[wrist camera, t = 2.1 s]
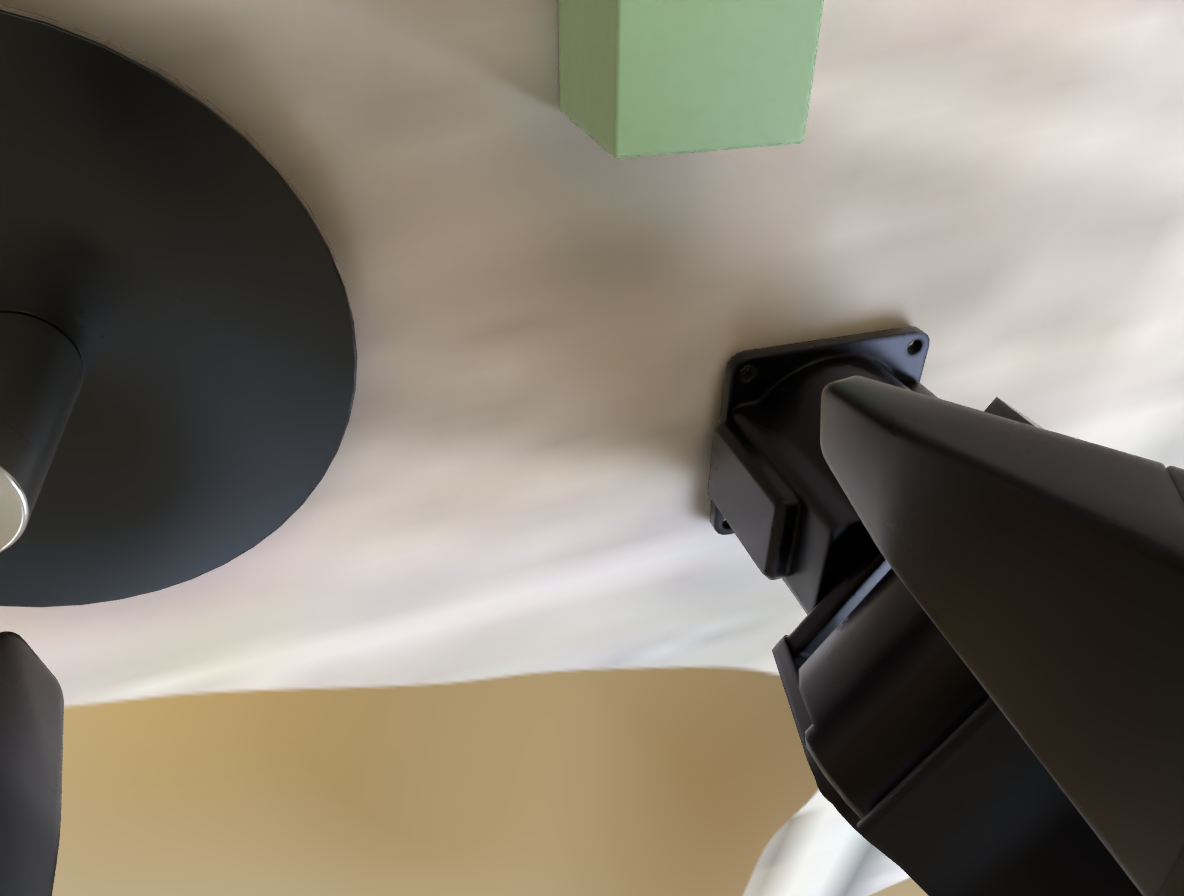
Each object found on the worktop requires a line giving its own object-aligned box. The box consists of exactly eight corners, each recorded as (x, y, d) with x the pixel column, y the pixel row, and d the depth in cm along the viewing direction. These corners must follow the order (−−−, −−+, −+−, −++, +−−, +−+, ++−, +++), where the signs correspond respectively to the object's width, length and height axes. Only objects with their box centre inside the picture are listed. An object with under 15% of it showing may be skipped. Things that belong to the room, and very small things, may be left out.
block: (739, -101, 18) (839, -96, 14) (721, 100, 20) (805, 144, 17) (555, -101, 17) (618, -95, 13) (559, 111, 19) (614, 159, 16)
